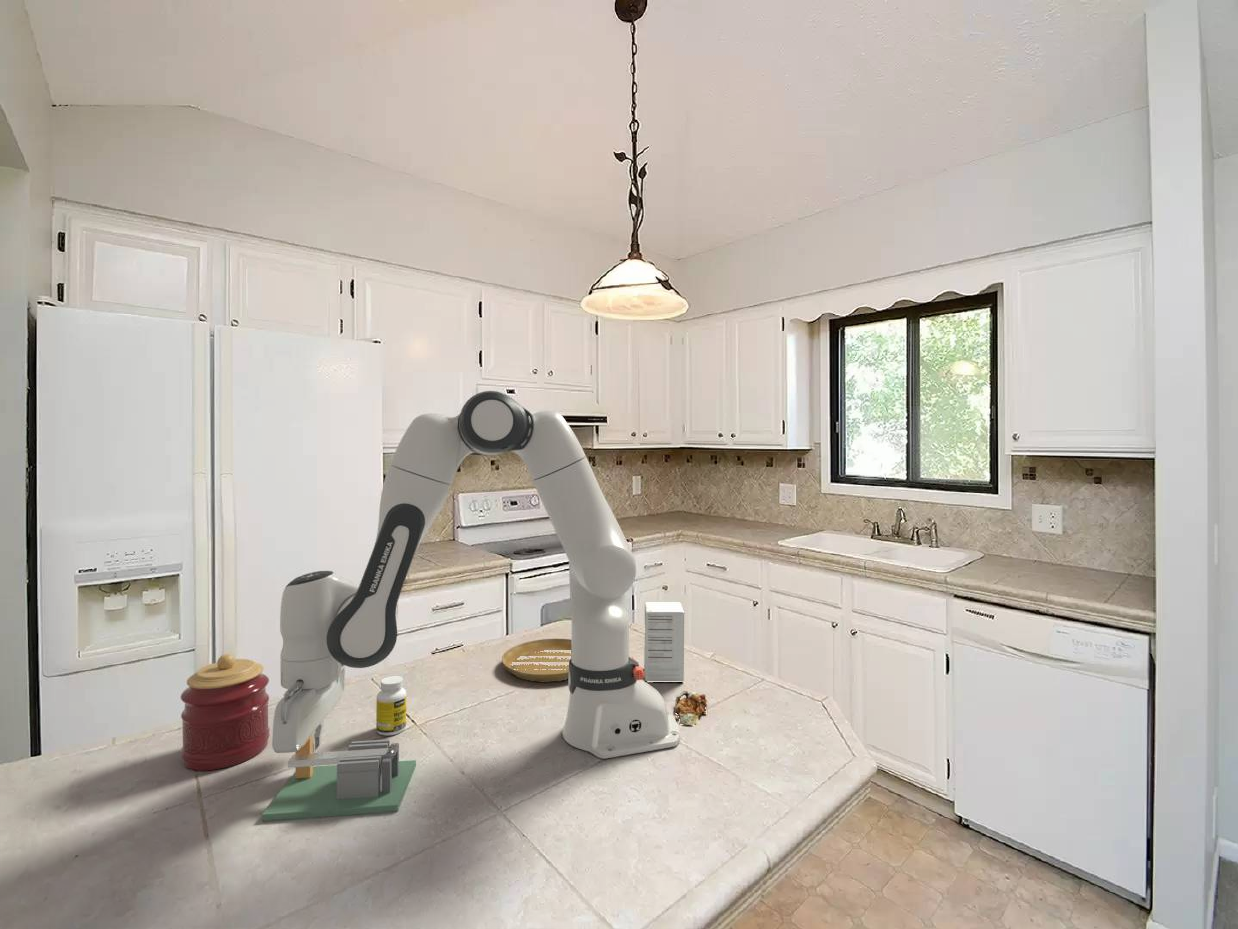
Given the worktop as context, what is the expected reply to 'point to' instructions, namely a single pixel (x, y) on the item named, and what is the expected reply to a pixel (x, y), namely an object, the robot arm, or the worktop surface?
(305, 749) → the bracket
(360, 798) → the heatsink base
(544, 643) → the plant saucer
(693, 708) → the pastry
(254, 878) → the worktop surface
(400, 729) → the supplement bottle
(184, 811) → the worktop surface
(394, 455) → the robot arm
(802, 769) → the worktop surface
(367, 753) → the strap
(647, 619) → the supplement box
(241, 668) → the canister
